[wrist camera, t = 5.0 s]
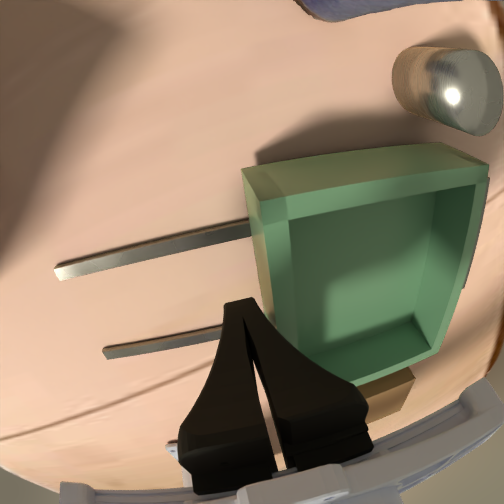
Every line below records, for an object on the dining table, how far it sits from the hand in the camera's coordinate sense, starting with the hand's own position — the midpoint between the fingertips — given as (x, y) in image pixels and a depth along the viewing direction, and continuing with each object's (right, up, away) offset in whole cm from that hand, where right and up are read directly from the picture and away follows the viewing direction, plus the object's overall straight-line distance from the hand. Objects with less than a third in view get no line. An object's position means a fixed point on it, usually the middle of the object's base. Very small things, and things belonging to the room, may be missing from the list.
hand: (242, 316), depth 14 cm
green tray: (+6, +3, +3) cm, 7 cm away
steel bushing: (+9, +11, -2) cm, 14 cm away
